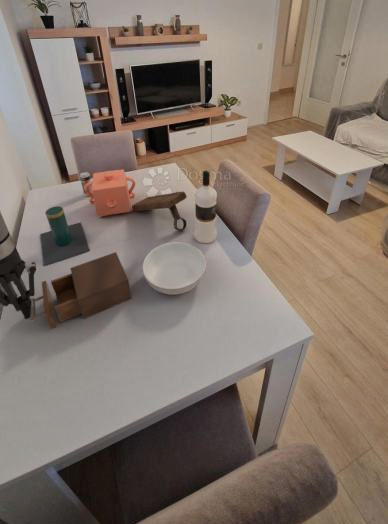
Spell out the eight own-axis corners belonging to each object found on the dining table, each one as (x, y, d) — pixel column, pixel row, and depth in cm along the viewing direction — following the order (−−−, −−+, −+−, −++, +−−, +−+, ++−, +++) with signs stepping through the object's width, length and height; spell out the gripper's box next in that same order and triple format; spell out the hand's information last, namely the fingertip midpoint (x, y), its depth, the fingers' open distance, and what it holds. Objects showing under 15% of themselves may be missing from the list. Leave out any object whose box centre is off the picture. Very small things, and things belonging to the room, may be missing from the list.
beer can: (82, 194, 142) (77, 174, 136) (90, 191, 145) (85, 170, 139) (88, 197, 139) (83, 176, 133) (95, 193, 143) (91, 173, 137)
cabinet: (83, 319, 81) (77, 300, 77) (76, 286, 92) (70, 268, 87) (131, 298, 88) (128, 279, 83) (119, 269, 98) (115, 251, 94)
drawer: (34, 336, 76) (27, 321, 73) (32, 302, 85) (26, 287, 82) (99, 308, 83) (95, 293, 80) (91, 280, 93) (87, 265, 90)
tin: (52, 245, 109) (41, 214, 101) (62, 235, 114) (53, 205, 106) (65, 248, 107) (55, 216, 100) (75, 237, 112) (66, 207, 105)
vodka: (194, 229, 117) (193, 165, 102) (215, 229, 117) (218, 165, 102) (193, 244, 109) (193, 177, 94) (217, 244, 109) (220, 177, 94)
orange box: (141, 222, 121) (137, 187, 112) (87, 231, 116) (78, 196, 107) (136, 193, 142) (132, 162, 133) (90, 200, 137) (82, 168, 128)
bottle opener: (143, 235, 131) (181, 236, 108) (130, 205, 129) (166, 200, 106) (159, 224, 138) (198, 224, 115) (147, 196, 135) (185, 190, 112)
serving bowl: (165, 248, 107) (164, 235, 103) (215, 267, 98) (215, 253, 95) (131, 288, 91) (129, 273, 88) (187, 314, 82) (186, 299, 79)
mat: (40, 234, 115) (40, 233, 115) (80, 223, 121) (80, 222, 121) (44, 266, 100) (43, 265, 99) (89, 250, 106) (89, 249, 106)
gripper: (-37, 273, 62) (1, 336, 73) (28, 253, 67) (54, 314, 79) (-32, 253, 67) (2, 314, 79) (27, 235, 73) (51, 295, 85)
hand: (28, 314), depth 79 cm, fingers closed
